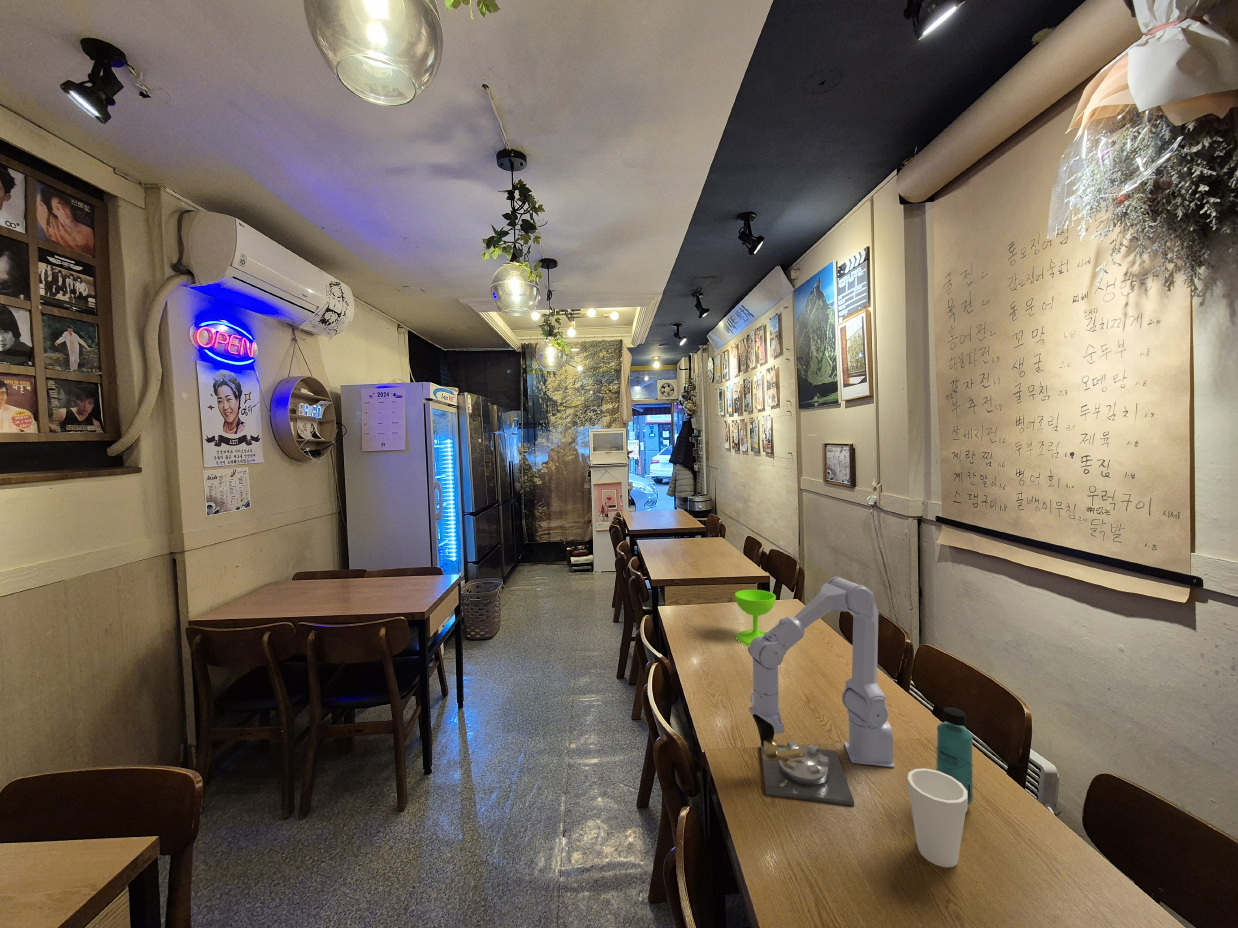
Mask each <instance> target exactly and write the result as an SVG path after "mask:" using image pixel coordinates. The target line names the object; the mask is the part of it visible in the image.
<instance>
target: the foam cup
mask: <svg viewBox="0 0 1238 928" xmlns="http://www.w3.org/2000/svg"><path fill="white" fill-rule="evenodd" d="M906 780H907V792H908V794H909V801H910V807H911V814H912V815H911V816H912V820H913V827H914V828H913V829H914V834H915V840H916V845H917V849H918V851H919V853H920V854H921V856H923V858H925V859H926V860H927V861H928V862H930V863H932V864H934V865H936V866H939V867H942V868H954V867H955V866H957V865H958V861H959V857H960V851H961V844H962V838H963V833H964V832H963V831H964V825H965V819H966V813H967V812H968V806H969V805H968V793H967V790H966V789H965V787H964V786H963V785H962V784H961V783H960V782H959V781H957V780H956V779H954V778H953V777H951V776H949V775H947V774H944V773H942V772H940V771H937V769H936V770H935V769H931V768H914V769H913V770H911V771H909V772H908V774H907V779H906Z"/></svg>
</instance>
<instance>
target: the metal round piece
mask: <svg viewBox="0 0 1238 928" xmlns="http://www.w3.org/2000/svg"><path fill="white" fill-rule="evenodd" d="M777 745H778V741H777V739H775V738H774V737H773V738H766V739H764V753H763V758H764V759H765V761H766V762H770V761H778V766H779V769H780V771H781V772H782V773H783V774H784V775H785V776H786V777H787V778H789V779H791V780H792V781H795V782H797V783H801V784H806V785H817V784H821V783H823V782H825V781H826V780H827V778H828V757H825V756H824V755H823V754H821V753H820V752H819V749H820V747H819V746H817V745H815V744H812V743H810V744H809V745H808V746H806V745H802V744H799V743H797V742H796V740H789V741H787V742H786V746H785V747H783V748H778V751H777Z"/></svg>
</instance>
